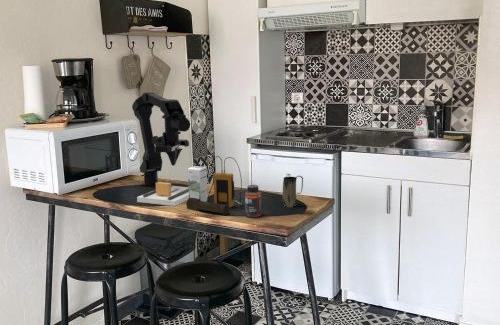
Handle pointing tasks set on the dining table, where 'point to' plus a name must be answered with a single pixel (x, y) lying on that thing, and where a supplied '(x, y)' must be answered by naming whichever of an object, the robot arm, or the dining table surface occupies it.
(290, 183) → the mug
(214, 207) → the hand tool
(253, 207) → the supplement bottle
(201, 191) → the syrup box
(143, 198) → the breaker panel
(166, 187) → the lever
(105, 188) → the dining table surface
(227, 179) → the multimeter
